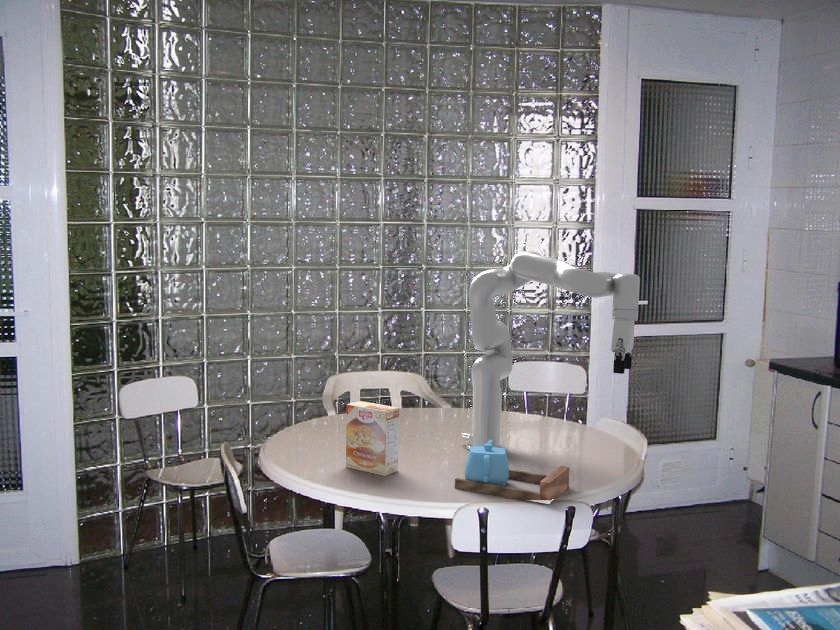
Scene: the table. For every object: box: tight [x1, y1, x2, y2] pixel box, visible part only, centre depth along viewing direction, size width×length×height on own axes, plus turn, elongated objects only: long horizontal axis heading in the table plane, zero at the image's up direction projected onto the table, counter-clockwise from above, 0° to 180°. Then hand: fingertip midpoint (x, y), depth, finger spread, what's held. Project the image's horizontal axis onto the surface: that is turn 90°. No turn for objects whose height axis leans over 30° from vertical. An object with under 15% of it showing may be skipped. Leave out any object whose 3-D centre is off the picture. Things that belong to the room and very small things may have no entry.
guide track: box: [454, 465, 570, 501], centre depth 223 cm, size 28×17×6 cm, turn 62°
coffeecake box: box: [345, 400, 400, 477], centre depth 237 cm, size 15×7×20 cm, turn 56°
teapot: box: [464, 440, 510, 487], centre depth 226 cm, size 12×18×12 cm
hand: (622, 370), depth 240 cm, fingers open, 9 cm apart
